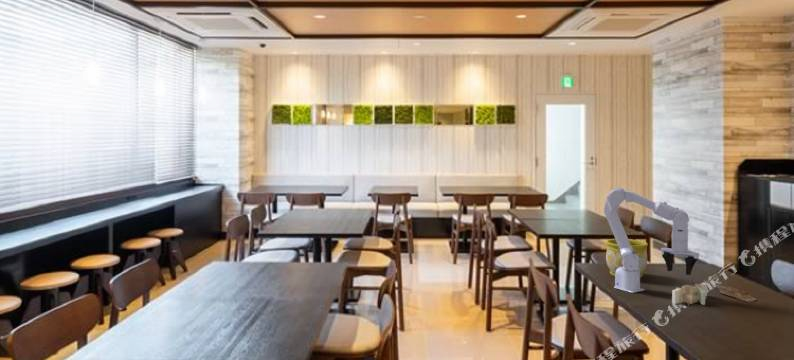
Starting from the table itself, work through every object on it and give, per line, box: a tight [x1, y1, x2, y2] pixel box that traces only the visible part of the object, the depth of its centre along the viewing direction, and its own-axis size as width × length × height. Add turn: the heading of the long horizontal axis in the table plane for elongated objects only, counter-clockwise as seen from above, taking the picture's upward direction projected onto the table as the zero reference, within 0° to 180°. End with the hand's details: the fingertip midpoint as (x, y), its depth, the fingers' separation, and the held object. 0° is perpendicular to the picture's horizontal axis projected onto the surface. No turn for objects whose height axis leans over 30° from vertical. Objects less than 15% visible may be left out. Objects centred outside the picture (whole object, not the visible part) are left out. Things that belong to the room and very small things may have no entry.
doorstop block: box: [681, 284, 699, 304], centre depth 200 cm, size 4×4×6 cm
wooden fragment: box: [714, 284, 758, 303], centre depth 211 cm, size 26×11×1 cm, turn 170°
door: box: [696, 286, 708, 306], centre depth 199 cm, size 2×10×5 cm, turn 162°
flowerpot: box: [605, 238, 649, 279], centre depth 239 cm, size 18×18×16 cm
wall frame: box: [671, 282, 708, 305], centre depth 202 cm, size 2×21×6 cm, turn 118°
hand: (679, 272), depth 208 cm, fingers open, 7 cm apart
